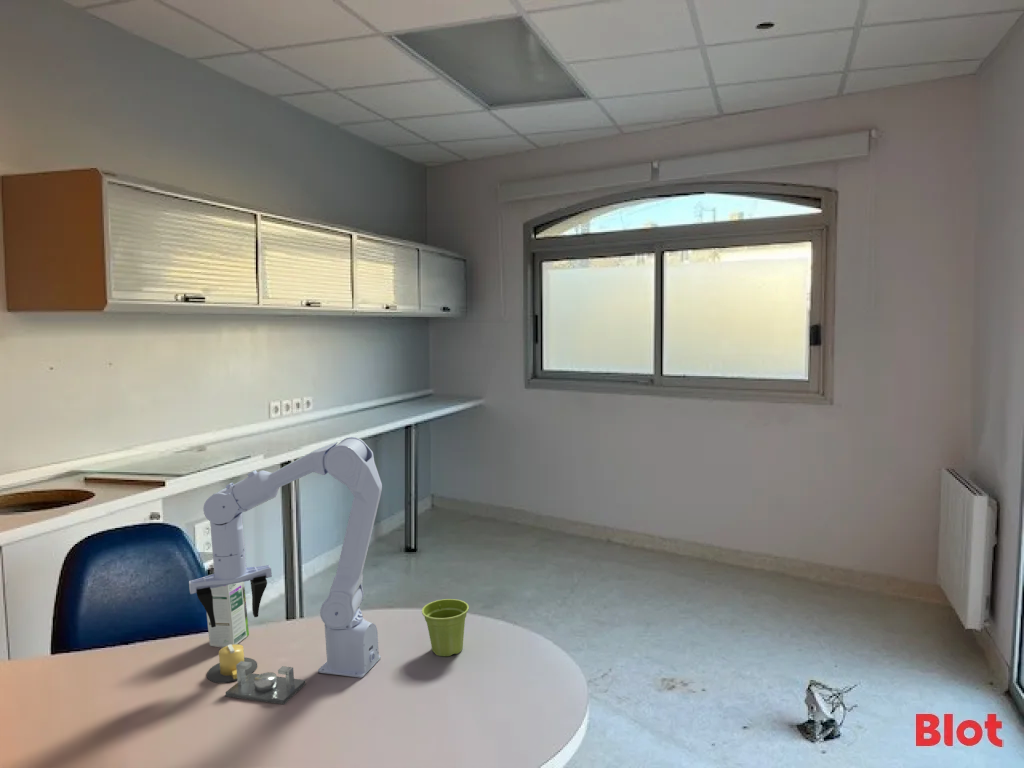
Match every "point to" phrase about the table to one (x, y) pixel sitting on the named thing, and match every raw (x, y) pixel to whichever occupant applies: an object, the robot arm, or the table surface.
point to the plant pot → (446, 625)
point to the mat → (217, 677)
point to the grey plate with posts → (265, 685)
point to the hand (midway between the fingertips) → (234, 620)
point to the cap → (230, 659)
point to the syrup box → (228, 615)
